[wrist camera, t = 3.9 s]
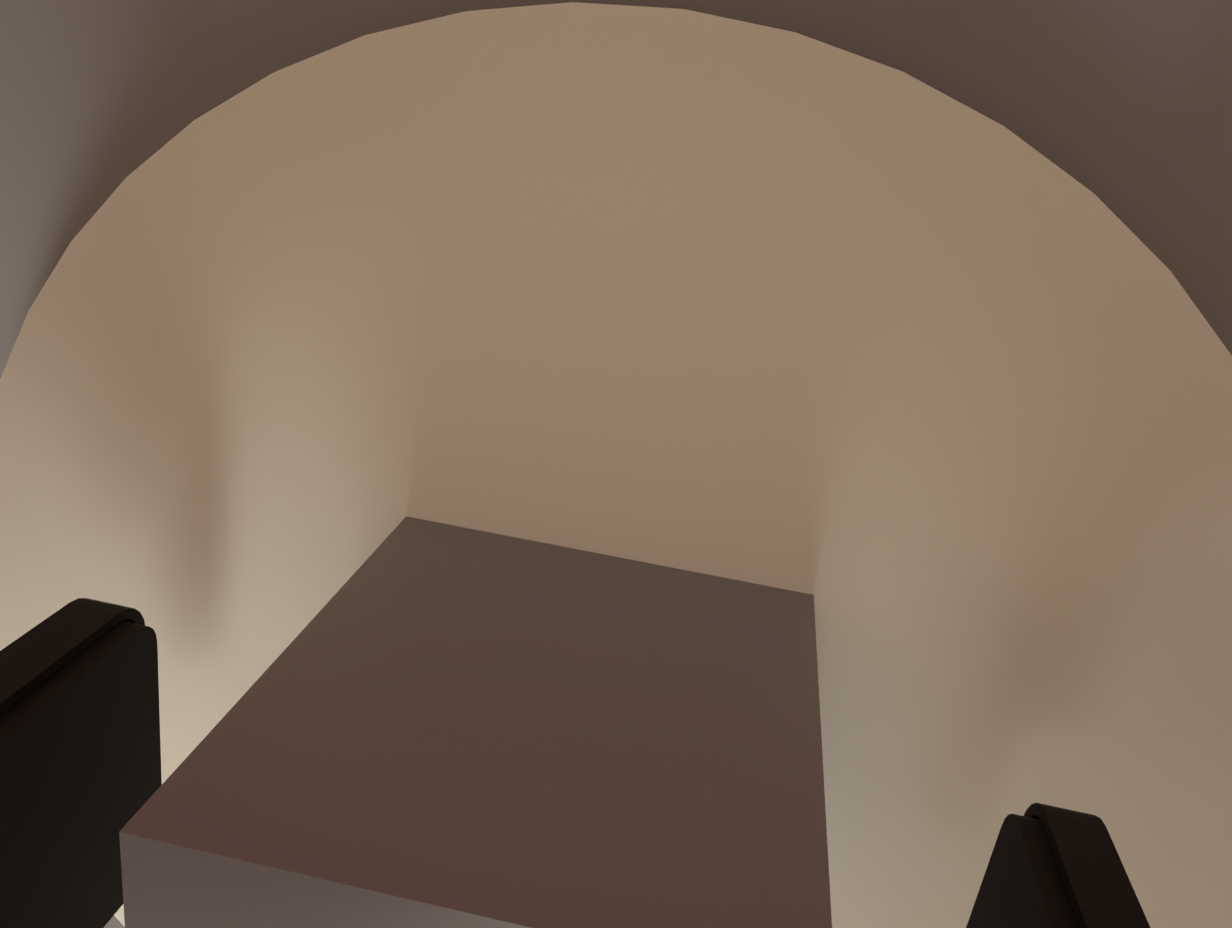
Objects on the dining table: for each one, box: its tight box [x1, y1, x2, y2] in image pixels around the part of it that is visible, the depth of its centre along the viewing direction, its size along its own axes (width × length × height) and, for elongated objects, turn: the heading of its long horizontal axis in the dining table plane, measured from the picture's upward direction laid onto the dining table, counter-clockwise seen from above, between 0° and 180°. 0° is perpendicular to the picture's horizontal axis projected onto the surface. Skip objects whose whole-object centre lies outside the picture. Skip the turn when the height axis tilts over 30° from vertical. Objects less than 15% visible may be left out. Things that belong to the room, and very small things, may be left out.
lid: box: [0, 2, 1232, 928], centre depth 9 cm, size 15×15×6 cm
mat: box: [0, 0, 1232, 928], centre depth 12 cm, size 20×18×1 cm
